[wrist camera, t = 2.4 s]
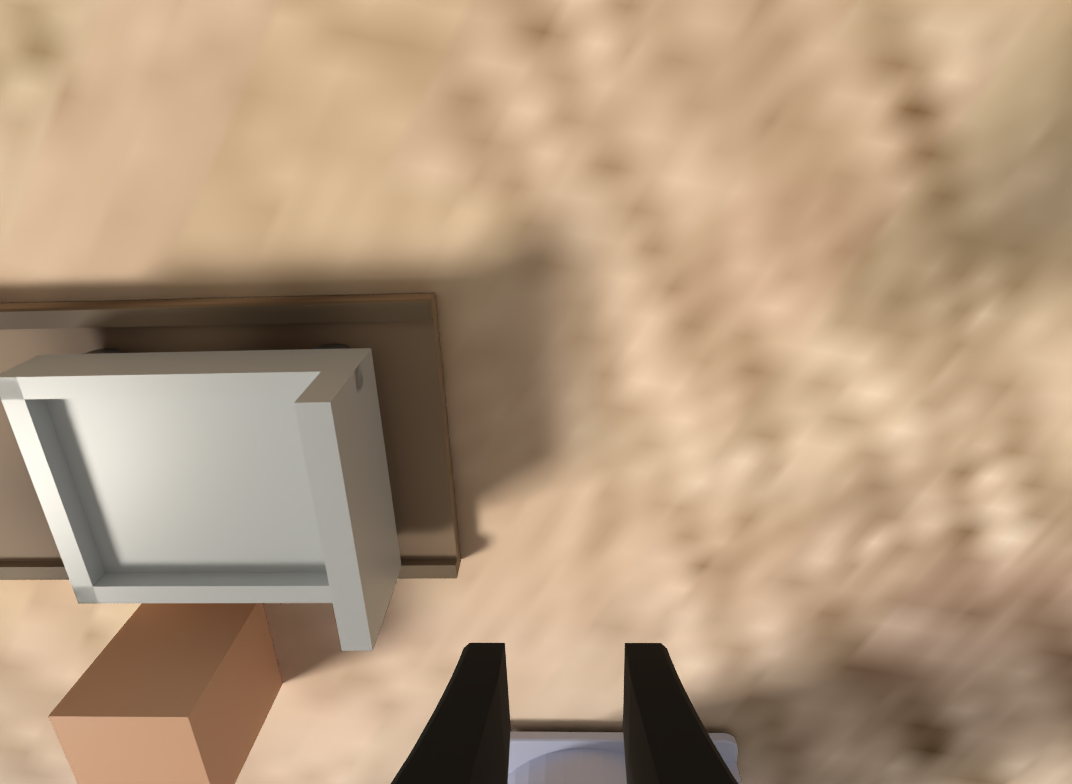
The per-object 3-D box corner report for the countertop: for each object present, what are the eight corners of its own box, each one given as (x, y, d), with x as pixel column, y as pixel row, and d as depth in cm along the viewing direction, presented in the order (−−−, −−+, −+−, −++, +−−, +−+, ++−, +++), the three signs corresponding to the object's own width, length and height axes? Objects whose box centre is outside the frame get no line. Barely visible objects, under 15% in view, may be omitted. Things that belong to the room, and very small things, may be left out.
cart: (380, 335, 19) (330, 402, 15) (408, 546, 22) (372, 650, 18) (63, 342, 19) (-70, 408, 15) (130, 548, 22) (34, 650, 18)
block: (261, 595, 23) (187, 716, 19) (282, 682, 25) (219, 814, 20) (148, 595, 24) (48, 716, 19) (176, 682, 25) (90, 812, 21)
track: (435, 292, 19) (416, 322, 16) (460, 560, 22) (448, 616, 20) (-283, 309, 20) (-399, 339, 17) (-149, 563, 23) (-229, 616, 21)
